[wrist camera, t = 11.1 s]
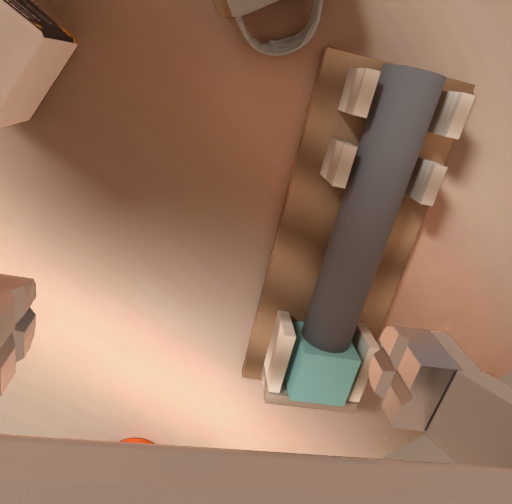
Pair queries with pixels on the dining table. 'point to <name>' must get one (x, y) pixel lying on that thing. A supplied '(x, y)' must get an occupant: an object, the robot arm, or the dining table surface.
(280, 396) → the wooden cradle
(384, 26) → the dining table surface
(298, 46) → the ceramic mug
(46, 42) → the medicine bottle
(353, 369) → the grey and teal rod
